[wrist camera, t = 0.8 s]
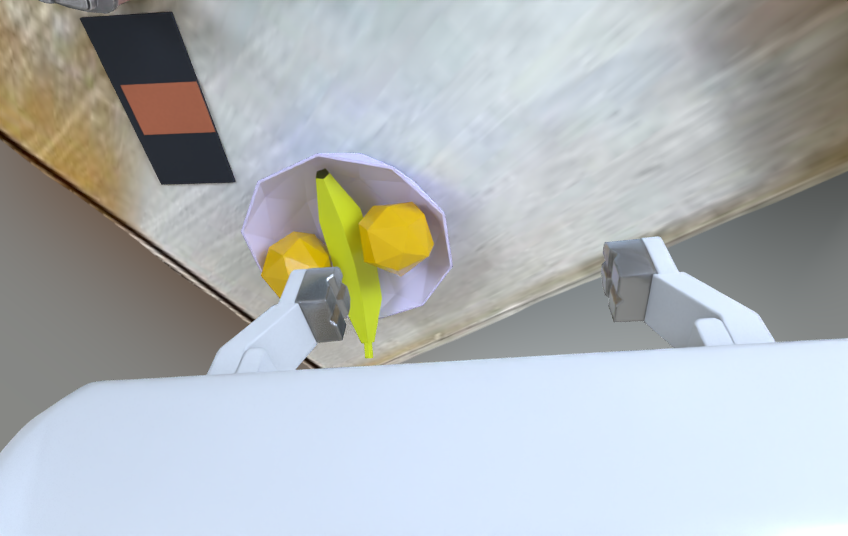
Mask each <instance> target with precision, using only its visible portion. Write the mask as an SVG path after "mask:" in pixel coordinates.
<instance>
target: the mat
mask: <svg viewBox="0 0 848 536" xmlns="http://www.w3.org/2000/svg"><path fill="white" fill-rule="evenodd" d="M80 20H81V22H82V24H83V26H84V28H85V30H86V32H87V34H88V36H89V38H90V40H91V42H92V44H93V46H94V48H95V50H96V52H97V54H98V56H99V59H100V61H101V63H102V65H103V67H104V69H105V71H106V73H107V75H108V77H109V79H110V81H111V83H112V85H113V87H114V89H115V91H116V93H117V95H118V97H119V99H120V101H121V103H122V105H123V107H124V109H125V111H126V113H127V115H128V118H129V120H130V122H131V124H132V126H133V128H134V130H135V132H136V134H137V136H138V138H139V140H140V142H141V144H142V146H143V148H144V150H145V152H146V154H147V156H148V158H149V160H150V162H151V164H152V166H153V168H154V170H155V172H156V175H157V177H158V179H159V181H160V183H161V184H195V183H230V182H235V179H234V177H233V174H232V171H231V168H230V166H229V163H228V160H227V158H226V155H225V152H224V150H223V147H222V144H221V142H220V139H219V136H218V134H217V131H216V128H215V126H214V123H213V120H212V118H211V115H210V112H209V110H208V107H207V104H206V102H205V99H204V96H203V93H202V91H201V88H200V85H199V83H198V80H197V77H196V75H195V72H194V69H193V67H192V64H191V61H190V59H189V56H188V53H187V51H186V48H185V45H184V43H183V40H182V37H181V35H180V32H179V29H178V27H177V24H176V21H175V18H174V16H173V13H172V12H162V13H146V14H130V15H114V16H98V17H82V18H80Z"/></svg>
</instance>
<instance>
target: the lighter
mask: <svg viewBox="0 0 848 536" xmlns="http://www.w3.org/2000/svg"><path fill="white" fill-rule="evenodd" d="M39 1H41V2H44V3H51V4H52V3H56V4H60V5H63V6H66V7H68V8H72V9H77V10H82V11H86V12H94V13H104V14H106V13H110V12H112V11H114V10H115V9H116V8H117V6H118V5H120V4H123V3H125V2H127V1H129V0H39Z"/></svg>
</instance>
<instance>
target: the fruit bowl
mask: <svg viewBox="0 0 848 536" xmlns="http://www.w3.org/2000/svg"><path fill="white" fill-rule="evenodd" d="M241 233H242V235H243V237H244V239H245V241H246V243H247V245H248V247H249V249H250V251H251V253H252V255H253V257H254V259H255V261H256V263H257V265H258V267H259V269H260V271H261V273H262V274H261V276H262V278H263V279H264V280H265V281H266V282H267V284H268V285H269V286H270V287H271V288H272V289H273V291H274V292H275V293H276V294H277V295H278V297H279V298H281V295H282V293H283V291H284V288H285V286H286V283H287V281H288V278H289V276H290V273H291V272H292V271H293V270H298V269H309V268H324V267H339V268H340V270H341V272H342V274H343V278H342V283H343V284H345V285H346V286H347V288H348V290H349V294H350V311H349V314H348V315H347V316H346V317H347V318H350V320H351V322H352V324H353V326H354V328H355V330H356V332H357V335H358V337H359V339H360V341H361V343H364V348H365V358H373V350H372V342H374V340H375V335H376V329H377V324H378V319H381V318H384V317H388V316H391V315H394V314H397V313H400V312H404V311H407V310H410V309H413V308H417V307H420V306H423V305H424V304H425V302H426V301H427V300H428V298H429V297H430V296H431V294H432V293H433V292H434V291H435V289H436V288H437V287H438V285H439V284H440V283H441V281H442V280H443V279H444V277H445V276H446V275H447V273H448V272H449V271H450V269H451V268H452V267H453V264H452V258H451V251H450V244H449V238H448V231H447V224H446V217H445V213H444V212H443V211H442V210H441V209H440V208H439V207H438V206H437V205H436V203H435V202H434V201H433V200H432V199H431V198H430V197H429V196H428V195H427V194H426V193H425V192H424V191H423V190H422V189H421V188H420V187H419V186H418V185H417V184H416V183H415V182H414V181H413V180H411V179H410V178H409V177H407V176H406V175H404V174H403V173H401V172H400V171H398V170H397V169H396V168H394V167H393V166H390V165H388V164H385V163H383V162H380V161H378V160H375V159H373V158H370V157H368V156H366V155H363V154H361V153H317V154H315V155H312V156H310V157H308V158H306V159H304V160H302V161H300V162H297V163H295V164H293V165H291V166H289V167H287V168H285V169H282V170H280V171H278V172H276V173H274V174H272V175H270V176H267V177H265V178H263V179H261V180H259V181H257V184H256V187H255V190H254V193H253V196H252V199H251V202H250V205H249V209H248V212H247V215H246V218H245V221H244V224H243V227H242V230H241Z"/></svg>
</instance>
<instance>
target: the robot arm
mask: <svg viewBox="0 0 848 536" xmlns="http://www.w3.org/2000/svg"><path fill="white" fill-rule="evenodd" d="M603 255H604V258H605V262H604V263H603V264H602V269H601V277H602V285H603V290H604V293H605V295H606V296H607V297H609V305H608V306H609V309H610V312H611V315H612V318H613V321H614V322H628V321H629V322H630V321H644V323H646V324H647V325H648V326H649V327H650V328H651V329H653V330H654V331H655V332H656V333H657V334H658V335H660V336H661V337H662V338H663V339H664V340H665V341H667V342H668V343H669V344H670V345H671V346H672V347H674V348H667V349H650V350H633V351H618V352H601V353H583V354H565V355H547V356H530V357H512V358H495V359H478V360H462V361H444V362H427V363H411V364H393V365H375V366H358V367H340V368H323V369H305V370H295V369H296V368H297V367H298V366H299V365H300V364H301V362H302V361H303V360H304V359H305V358H306V357H307V355H308V354H309V353H310V352H311V351H312V350H313V349H314V347H315V346H316V345H317V343H319V342H330V341H340V340H343V336H344V332H345V328H346V323H345V320H344V318H345V317H346V316H347V315H348V314H349V311H350V294H349V290H348V288H347V286H346V285H345V284H343V283H342V278H343V274H342V272H341V270H340V268H339V267H324V268H309V269H298V270H293V271H292V272H291V273H290V276H289V278H288V281H287V283H286V286H285V288H284V291H283V293H282V295H281V298H280V300H279V303H278V305H273V306H272V307H271V308H269V309H268V310H267V311H266V312H264V313H263V314H262V315H261V316H259V317H258V318H257V319H256V320H254V321H253V322H252V323H251V324H250V325H248V326H247V327H246V328H245V329H243V330H242V331H241V332H240V333H238V334H237V335H236V336H235V337H233V338H232V339H231V340H230V341H228V342H227V343H226V344H225V345H224V346H222V347H221V348H220V349H219V350H218V352H217V354H216V356H215V358H214V360H213V363H212V365H211V367H210V369H209V371H208V373H207V375H202V376H183V377H167V378H149V379H132V380H109V381H97V382H92V383H89V384H86V385H84V386H82V387H81V388H79V389H77V390H76V391H74V392H72V393H71V394H69V395H67V396H66V397H64V398H63V399H61V400H60V401H58V402H57V403H55V404H54V405H52V406H51V407H49V408H48V409H46V410H45V411H43V412H42V413H40V414H39V415H38V416H36V417H35V418H33V419H32V420H31V421H29V422H28V423H27V424H26V425H25V426H24V427H23V428H22V429H21V430H20V431H19V432H18V433H17V434H16V435H15V436H14V437H13V439H12V440H11V441H10V442H9V443H8V444H7V445H6V447H5V448H4V449H3V450H2V451H1V453H0V536H848V338H840V339H823V340H808V341H807V340H805V341H789V342H775V340H774V339H773V337H772V335H771V334H770V332H769V331H768V329H767V327H766V326H765V324H764V323H763V321H762V319H761V318H760V316H759V315H758V314H757V313H756V312H754V311H752V310H750V309H749V308H747V307H745V306H743V305H742V304H740V303H738V302H736V301H734V300H733V299H731V298H729V297H727V296H726V295H724V294H722V293H720V292H718V291H717V290H715V289H713V288H711V287H710V286H708V285H706V284H704V283H703V282H701V281H699V280H697V279H695V278H694V277H692V276H690V275H688V274H687V273H685V272H679V271H678V270H677V268H676V266H675V264H674V262H673V260H672V258H671V256H670V254H669V252H668V250H667V248H666V246H665V244H664V242H663V240H662V239H661V238H660V237H659V236H657V237H648V238H641V239H633V240H623V241H612V242H605V243H604V247H603Z"/></svg>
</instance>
